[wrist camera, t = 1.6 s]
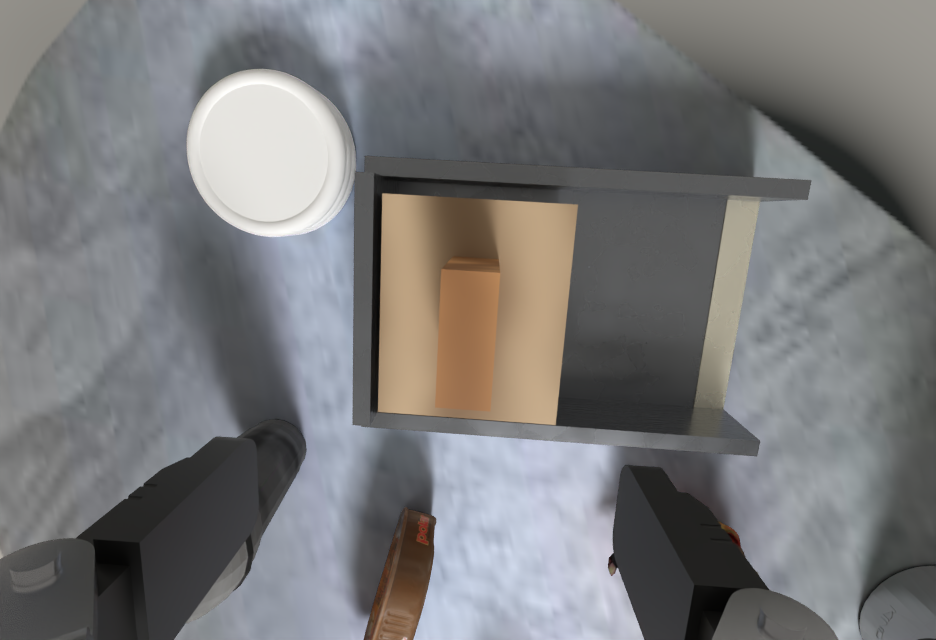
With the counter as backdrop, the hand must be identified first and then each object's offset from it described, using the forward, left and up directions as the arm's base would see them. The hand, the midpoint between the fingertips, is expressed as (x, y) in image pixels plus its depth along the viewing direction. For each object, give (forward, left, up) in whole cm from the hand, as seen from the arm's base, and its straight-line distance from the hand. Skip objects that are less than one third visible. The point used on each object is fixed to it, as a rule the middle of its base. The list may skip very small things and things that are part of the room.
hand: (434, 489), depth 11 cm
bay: (-6, -1, -25) cm, 25 cm away
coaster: (+13, -9, -25) cm, 30 cm away
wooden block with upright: (0, -1, -23) cm, 23 cm away
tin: (+4, +22, -25) cm, 34 cm away
